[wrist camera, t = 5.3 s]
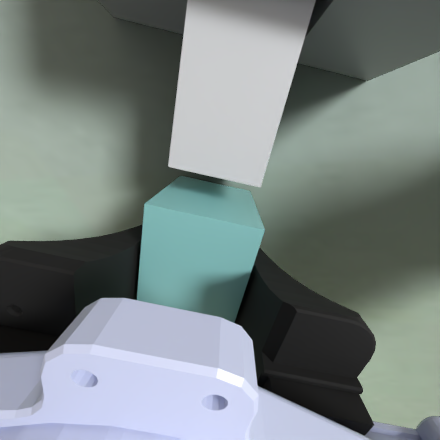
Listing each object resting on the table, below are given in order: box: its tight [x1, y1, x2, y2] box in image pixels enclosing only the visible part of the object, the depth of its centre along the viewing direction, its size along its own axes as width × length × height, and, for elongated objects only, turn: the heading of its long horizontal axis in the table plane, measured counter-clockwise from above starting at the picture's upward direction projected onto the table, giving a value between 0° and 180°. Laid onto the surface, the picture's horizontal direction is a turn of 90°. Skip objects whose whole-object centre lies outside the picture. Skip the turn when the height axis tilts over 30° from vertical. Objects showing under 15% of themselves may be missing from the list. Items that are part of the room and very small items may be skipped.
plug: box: [137, 0, 316, 323], centre depth 9 cm, size 4×13×5 cm, turn 168°
